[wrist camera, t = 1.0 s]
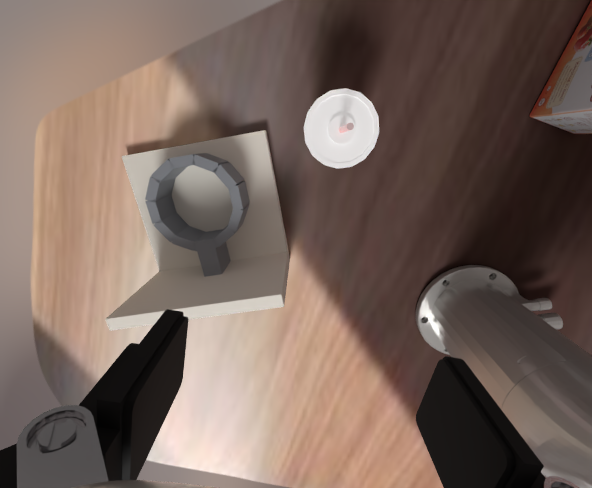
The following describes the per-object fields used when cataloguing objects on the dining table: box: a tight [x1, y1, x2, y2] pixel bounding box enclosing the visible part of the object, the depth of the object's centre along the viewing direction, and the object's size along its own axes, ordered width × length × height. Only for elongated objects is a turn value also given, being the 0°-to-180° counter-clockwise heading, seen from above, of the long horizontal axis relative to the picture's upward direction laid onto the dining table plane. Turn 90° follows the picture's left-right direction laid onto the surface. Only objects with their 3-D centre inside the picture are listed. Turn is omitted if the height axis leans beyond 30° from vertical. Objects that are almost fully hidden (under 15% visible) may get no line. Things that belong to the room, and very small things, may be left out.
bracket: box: [105, 130, 290, 331], centre depth 31 cm, size 16×15×12 cm
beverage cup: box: [304, 88, 379, 169], centre depth 27 cm, size 6×6×14 cm
